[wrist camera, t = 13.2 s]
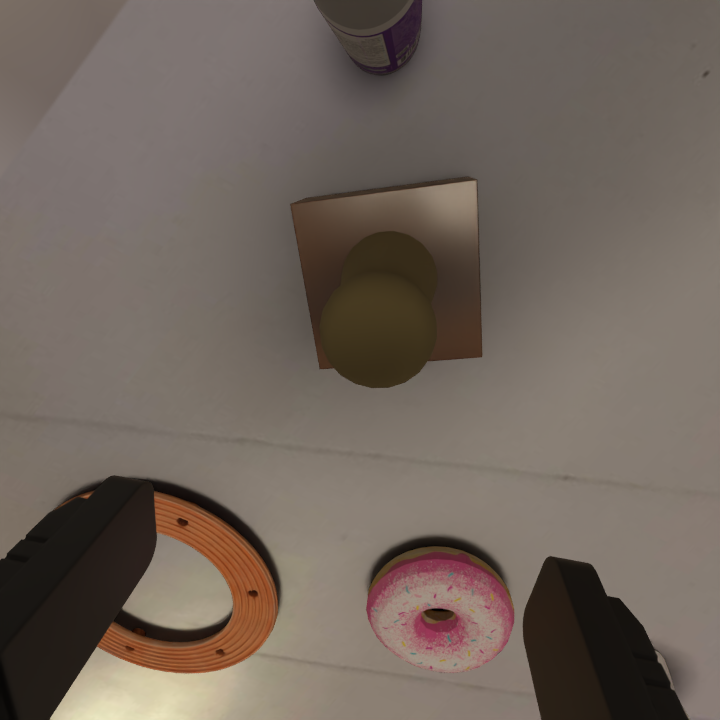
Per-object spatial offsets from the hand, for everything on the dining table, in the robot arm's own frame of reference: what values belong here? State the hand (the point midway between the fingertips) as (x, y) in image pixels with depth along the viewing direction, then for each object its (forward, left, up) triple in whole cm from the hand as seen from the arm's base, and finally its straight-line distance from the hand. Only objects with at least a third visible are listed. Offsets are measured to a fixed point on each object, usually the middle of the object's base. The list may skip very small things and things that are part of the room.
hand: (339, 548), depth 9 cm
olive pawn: (0, 0, -22) cm, 22 cm away
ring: (+36, -19, -26) cm, 48 cm away
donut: (+30, +9, -26) cm, 41 cm away
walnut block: (0, 0, -26) cm, 26 cm away
